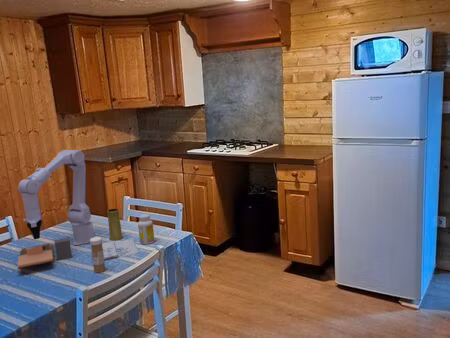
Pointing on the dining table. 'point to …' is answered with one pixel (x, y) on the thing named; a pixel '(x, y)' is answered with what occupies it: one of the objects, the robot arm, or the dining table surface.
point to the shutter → (35, 256)
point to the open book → (124, 249)
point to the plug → (63, 249)
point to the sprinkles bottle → (97, 254)
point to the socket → (45, 248)
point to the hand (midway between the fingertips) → (36, 238)
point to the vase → (114, 224)
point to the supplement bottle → (145, 229)
